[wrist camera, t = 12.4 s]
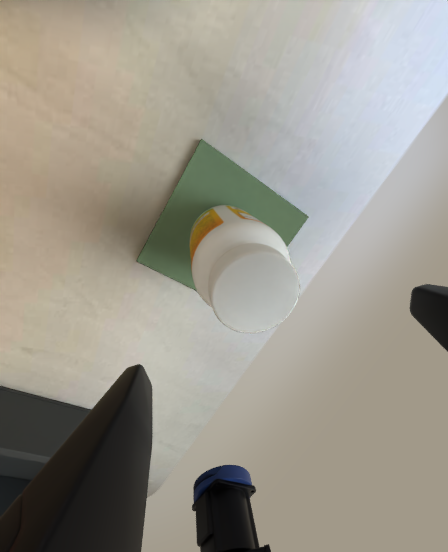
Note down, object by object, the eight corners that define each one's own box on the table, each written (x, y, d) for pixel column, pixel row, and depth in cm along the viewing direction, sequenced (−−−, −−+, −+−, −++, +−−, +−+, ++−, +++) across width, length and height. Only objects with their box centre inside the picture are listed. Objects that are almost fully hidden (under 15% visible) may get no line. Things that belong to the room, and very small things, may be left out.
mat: (306, 215, 20) (308, 216, 20) (240, 310, 23) (240, 312, 22) (201, 139, 17) (201, 138, 16) (137, 259, 19) (136, 261, 19)
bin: (124, 418, 26) (112, 469, 21) (79, 488, 29) (60, 545, 25) (-14, 382, 22) (-64, 435, 17) (-49, 468, 25) (-98, 532, 20)
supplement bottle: (196, 276, 20) (207, 358, 11) (182, 211, 18) (180, 249, 9) (259, 263, 21) (316, 332, 12) (252, 198, 18) (316, 222, 10)
